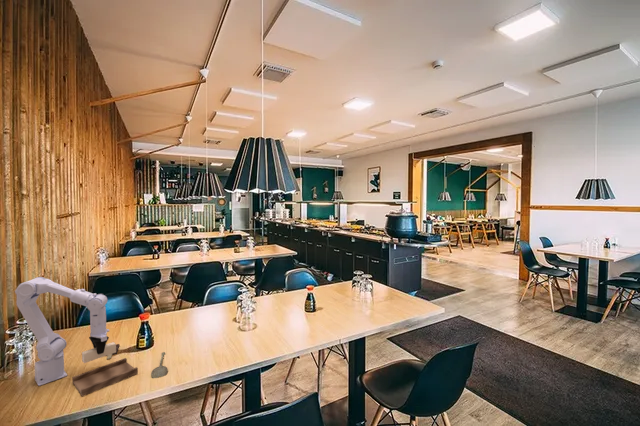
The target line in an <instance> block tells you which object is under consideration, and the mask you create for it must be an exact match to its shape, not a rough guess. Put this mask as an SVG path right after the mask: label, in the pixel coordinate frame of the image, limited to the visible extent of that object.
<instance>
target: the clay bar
mask: <svg viewBox="0 0 640 426" xmlns="http://www.w3.org/2000/svg"><path fill="white" fill-rule="evenodd" d="M116 344H117V343H115V342H114V341H113V342H109V343H106V345H105V349H104V353H102V354H99V355H98V354H97V350H96V348H94V347H92V348H90V349H88V350H84V351H82V352H81V359H82V360H81V361H82V362H83V363H84V364H87V363H90V362H93V361H95V360H98V359H101V358H103V357H107V355H110V354H113V353H116Z"/></svg>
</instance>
